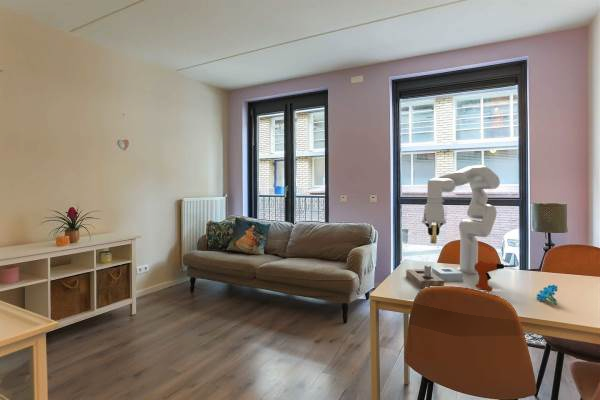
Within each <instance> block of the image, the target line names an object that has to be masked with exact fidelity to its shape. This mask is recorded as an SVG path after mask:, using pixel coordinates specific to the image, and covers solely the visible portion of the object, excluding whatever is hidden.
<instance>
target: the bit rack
mask: <svg viewBox="0 0 600 400" xmlns="http://www.w3.org/2000/svg"><path fill="white" fill-rule="evenodd" d="M405 274H406V275H405V277H406V278H407V279H408V280H409V281H411V283H413V284H414V285H415V286H417V288H419V289H420V290H424V289H423V288H425V287H430V286H444V287H445V281H444V280H442V279H441V278H439V277H438V276H436V275H435V274H433V273H432V271H431V279H424V269H422V268H420V269H419V268H417V269H415V268H413V269H411V268H409V269H406V271H405Z"/></svg>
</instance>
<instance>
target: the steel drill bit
mask: <svg viewBox="0 0 600 400" xmlns="http://www.w3.org/2000/svg"><path fill="white" fill-rule="evenodd" d="M431 272H432V265H429V264H427V265H424V279H431Z"/></svg>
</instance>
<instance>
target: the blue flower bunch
mask: <svg viewBox="0 0 600 400" xmlns="http://www.w3.org/2000/svg"><path fill="white" fill-rule="evenodd" d="M558 287H559V286H558V285H555V284H554V283H553V284H552V285H551V284H549V285H547V287H546V286H544V287H543V290H542V289H541V290H539V291H538V292H539V293H537V294H536V300H539V302H542V301H546V300H547V299H548V300H549V301H550V302H552V303H554V304H555V305H558V303H557V299H556V298H555V297H554V296H555V295H556V292H558Z"/></svg>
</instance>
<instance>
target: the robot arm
mask: <svg viewBox="0 0 600 400" xmlns="http://www.w3.org/2000/svg"><path fill="white" fill-rule="evenodd" d="M468 183H469V187H470V189H471V193H472V197H471V201H470V203H469V205H468V208H467V210H466V211H467V212H466V215H467V217H468V218H469V219H468V218H466V219H462V220H461V221H460V222H459V225H458V230H459V238H460V242H459V243H460V247H459V249H460V250H459V251H460V252H459V266H458V267H457V268H456V270H458V271H460V272H462V273H471V274H473V273H474V274H476V275H477V274H478V272H477V271H476V270H475V268H474V266H475V264H476V263H478V262H479V261H478V259H479V258H478V257H479V254H478V253H479V241H478V239H477V238H476V237H479V238H487V237H489V236H490V235H491V233H492V230H493V227H494V224H495V222H496V218H497V207H496V206H495V205H492V204H488V203H487V202H488V199H489V198H488V195H487V193H486V192H485V190H495V189H498V188H499V186H500V185H501V184H500V183H501V181H500V178H499V176H498V175H497V174H496V173H495V172H494V171H493V170H491V168H489V167H487V166H485V165H471V166H470V165H469V166H466V167H464V168H462V169H460V170H458V171H455V172H454V171H453V172H450V173H447V174H446V173H445V174H442V175H439V176H436V177H434V178H432V179H429V180H428V181H427V195H426V196H427V199H426V204H424V209H423V219H422V221H421V224H423V225H425V226H426V228H427V234H428V236H431V235H432V228H431V225H433V224H432V223H435V225H437V236H439V235H440V230H441V227H442V226H444V225H445V224H446V223H447V220H446V219H445V209H444V204H443V203H444V202H445V199H443V193H451V192H453V191H454V190H456V187H460V186H464V185H466V184H468ZM478 275H479V274H478Z"/></svg>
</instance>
